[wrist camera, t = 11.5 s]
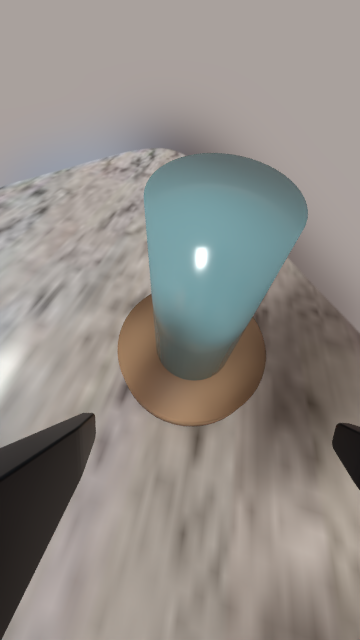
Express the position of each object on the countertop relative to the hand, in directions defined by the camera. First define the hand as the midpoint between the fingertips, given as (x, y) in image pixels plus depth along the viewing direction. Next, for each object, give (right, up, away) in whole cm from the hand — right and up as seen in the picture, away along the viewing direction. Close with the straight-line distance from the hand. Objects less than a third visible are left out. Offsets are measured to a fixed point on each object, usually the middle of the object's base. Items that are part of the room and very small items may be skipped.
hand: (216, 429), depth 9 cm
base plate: (0, +1, +13) cm, 13 cm away
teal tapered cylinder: (0, +2, +11) cm, 11 cm away
